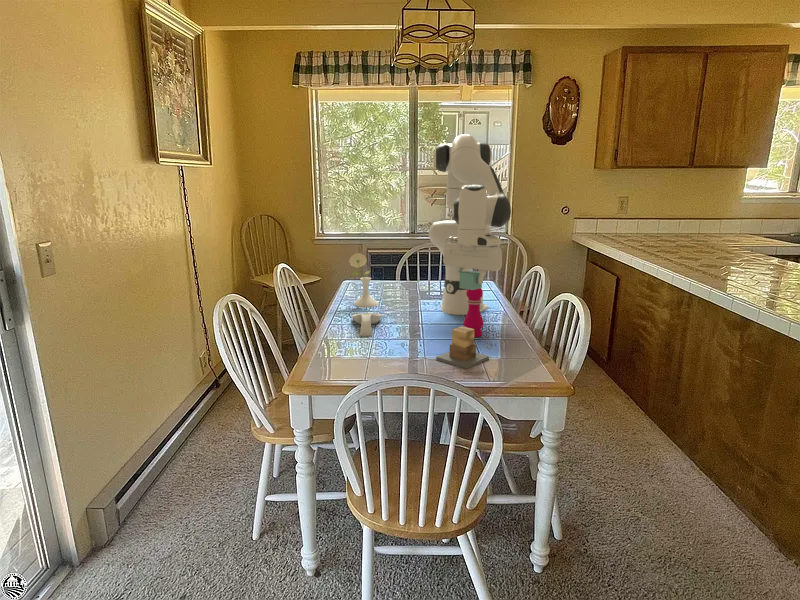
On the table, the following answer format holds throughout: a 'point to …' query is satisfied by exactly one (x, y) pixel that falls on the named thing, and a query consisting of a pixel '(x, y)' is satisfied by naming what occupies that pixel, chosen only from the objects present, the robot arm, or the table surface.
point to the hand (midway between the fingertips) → (470, 282)
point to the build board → (461, 363)
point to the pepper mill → (474, 311)
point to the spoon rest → (366, 322)
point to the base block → (462, 352)
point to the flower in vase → (365, 299)
